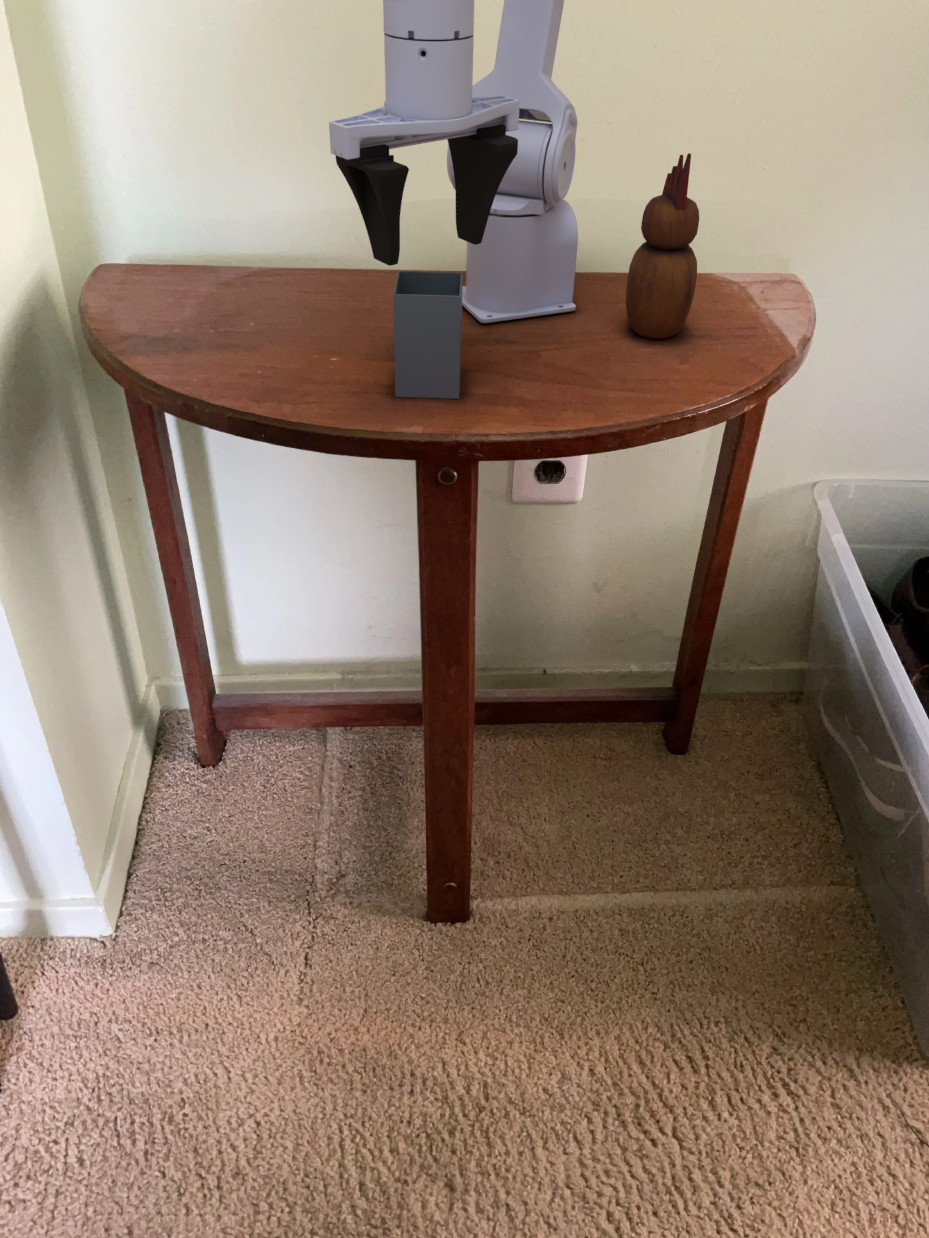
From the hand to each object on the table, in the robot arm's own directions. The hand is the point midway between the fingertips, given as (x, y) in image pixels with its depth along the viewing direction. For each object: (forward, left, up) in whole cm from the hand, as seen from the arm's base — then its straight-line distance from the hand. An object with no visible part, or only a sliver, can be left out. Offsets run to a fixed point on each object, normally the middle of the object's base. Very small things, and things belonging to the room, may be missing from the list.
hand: (428, 250), depth 71 cm
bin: (0, 0, -10) cm, 10 cm away
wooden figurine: (-22, -3, -11) cm, 25 cm away
